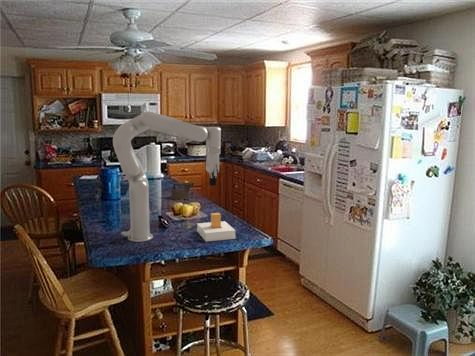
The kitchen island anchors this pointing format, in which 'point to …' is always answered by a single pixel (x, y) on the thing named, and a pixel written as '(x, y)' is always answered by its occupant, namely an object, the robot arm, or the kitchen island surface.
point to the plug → (215, 220)
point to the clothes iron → (181, 191)
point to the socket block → (215, 231)
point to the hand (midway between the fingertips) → (212, 185)
